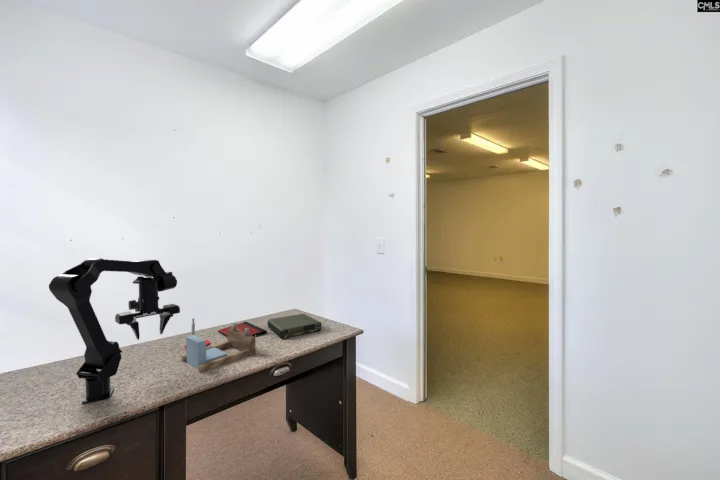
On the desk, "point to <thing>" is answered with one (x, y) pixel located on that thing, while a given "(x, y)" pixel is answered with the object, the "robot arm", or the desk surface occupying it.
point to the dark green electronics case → (293, 325)
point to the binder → (241, 327)
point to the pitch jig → (235, 340)
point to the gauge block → (200, 351)
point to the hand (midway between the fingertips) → (149, 336)
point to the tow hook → (194, 332)
